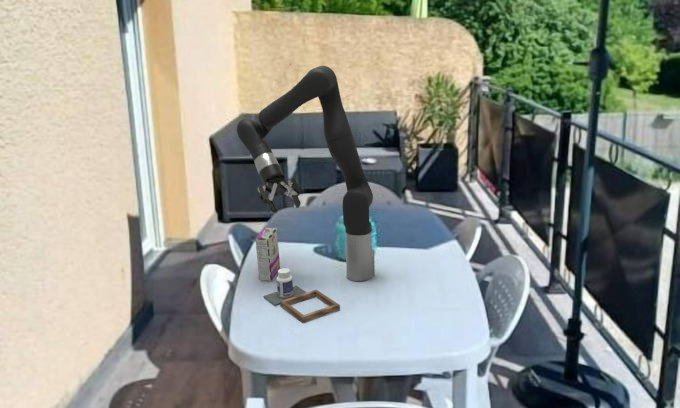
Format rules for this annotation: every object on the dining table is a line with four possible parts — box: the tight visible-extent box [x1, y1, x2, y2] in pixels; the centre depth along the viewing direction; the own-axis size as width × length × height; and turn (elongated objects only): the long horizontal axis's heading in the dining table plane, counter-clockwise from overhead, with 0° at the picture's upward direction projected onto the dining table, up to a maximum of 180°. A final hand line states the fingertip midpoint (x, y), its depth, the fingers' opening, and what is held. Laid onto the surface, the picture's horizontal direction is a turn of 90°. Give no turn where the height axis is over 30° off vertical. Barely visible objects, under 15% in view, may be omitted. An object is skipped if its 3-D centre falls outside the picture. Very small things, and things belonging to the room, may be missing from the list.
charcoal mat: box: [262, 285, 307, 307], centre depth 217 cm, size 13×8×1 cm, turn 124°
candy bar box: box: [255, 227, 281, 282], centre depth 232 cm, size 11×5×16 cm, turn 168°
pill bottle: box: [276, 267, 294, 298], centre depth 216 cm, size 5×5×9 cm
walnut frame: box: [280, 289, 341, 324], centre depth 208 cm, size 14×14×2 cm
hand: (287, 209), depth 214 cm, fingers open, 8 cm apart
